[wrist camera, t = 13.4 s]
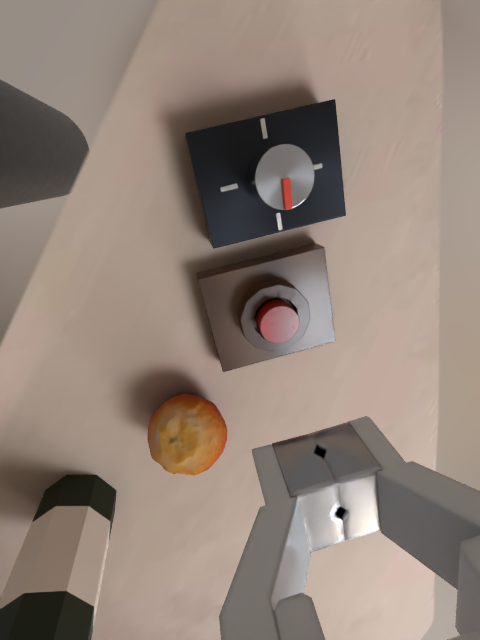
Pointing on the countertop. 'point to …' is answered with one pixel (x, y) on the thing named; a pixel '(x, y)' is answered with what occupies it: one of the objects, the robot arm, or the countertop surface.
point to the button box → (259, 288)
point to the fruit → (187, 434)
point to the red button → (277, 321)
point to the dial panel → (234, 156)
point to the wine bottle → (60, 563)
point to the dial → (280, 176)
